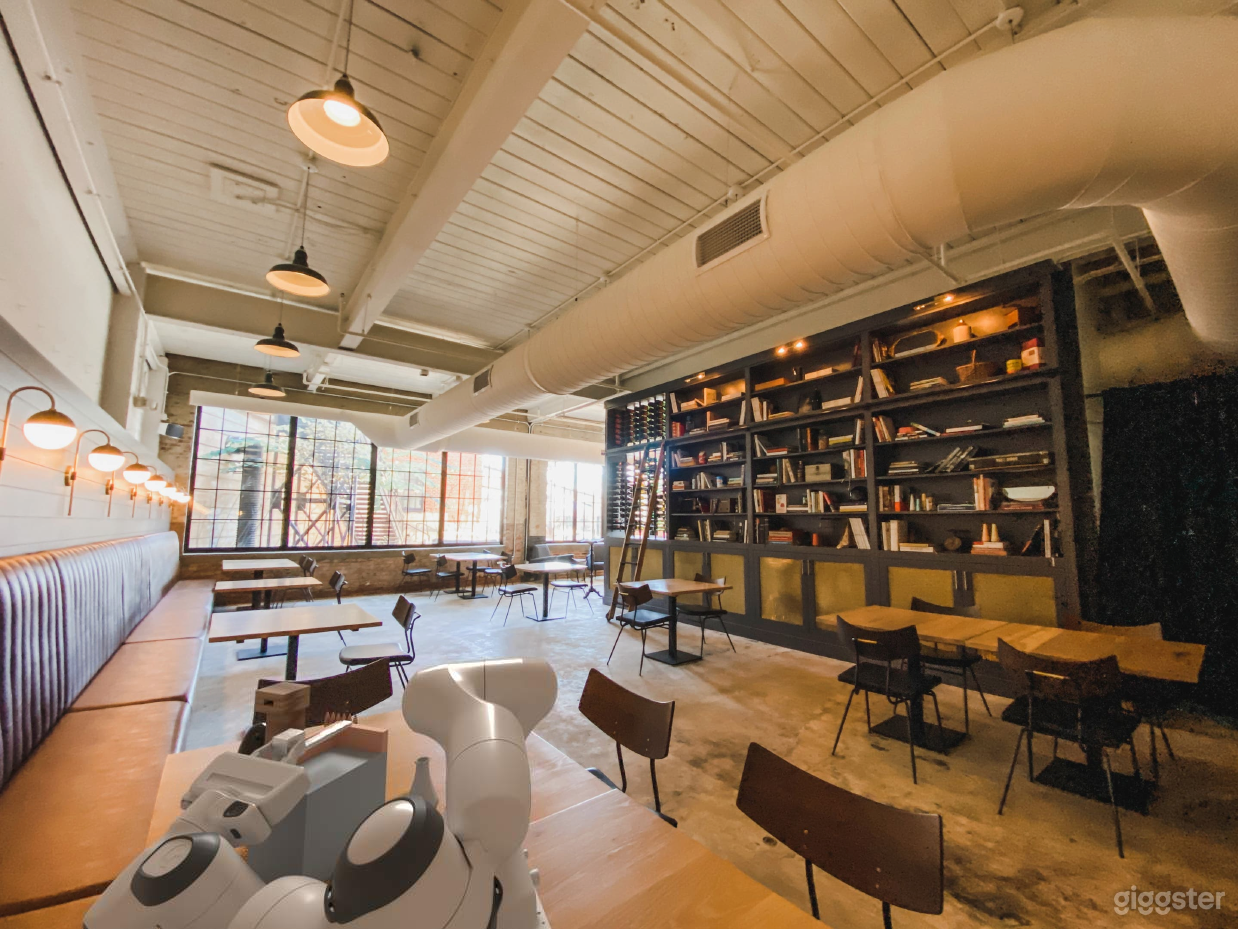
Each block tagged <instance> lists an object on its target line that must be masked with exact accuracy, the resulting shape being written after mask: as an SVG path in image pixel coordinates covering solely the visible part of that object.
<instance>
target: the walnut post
mask: <svg viewBox="0 0 1238 929" xmlns="http://www.w3.org/2000/svg"><path fill="white" fill-rule="evenodd" d="M310 699H311V685H308V684H300V683H294V682H287V681H281V682H279V683H275V684H272V685H269V686H266V687H262V688H259V689H257V690H255V694H254V706H253V712H256V713H261V714H262V713H263V714H266V719H265V722H266V731H265V745H266V744H268V743H269V742H270V741H271V740H272V739H273V737H274V736H276V735H278V734H281V733H283V732H285V731H287V730H289V729H291V728H292V729H298V730H303V731H305V725H306V724H305V723H306V708H308V707H309V706H310Z"/></svg>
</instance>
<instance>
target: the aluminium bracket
mask: <svg viewBox="0 0 1238 929" xmlns="http://www.w3.org/2000/svg"><path fill="white" fill-rule="evenodd" d="M352 723H353V721H352V722H351V721H347V720H346V721H345V720H344V721H342V722H340V723H339V724H337V725H335V726H333V727H331V728H329V729H327V730H325V731H323V732H321V733H319V734H317V735H316V736H314V737H312V738H310V739H308V740H306V741H305V736H306V730H304V731H303V730H298V729H292V728H291V729H289V730H287V731H285V732H283V733H281V734H278V735H276V736H274V737H273V754H272V760H273V761H278V762H280V761H281V760H282V759H283V758H284V757H286V758H287V756H288V754H289V752H290V750H289V748H288V747H289V746H290V745H291V744H293V742H294V741H295V740H299V741H303V742H304V744H305V749H304V750H303V751H302V752H301V753H300V754H299V756H298V757H300V756H301V755H303V754H305V751H306V750H308V749H310V748H312V747H314V746H316V745H317V744H319V743H321V742H323V741H325V740H327V739H328V738H330V737H332V736H334V735H336V734H338V733H340V732H341V731H343V730H345V729H347V728H349V727H351V726H352Z"/></svg>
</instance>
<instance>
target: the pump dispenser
mask: <svg viewBox="0 0 1238 929" xmlns="http://www.w3.org/2000/svg"><path fill="white" fill-rule="evenodd" d="M265 731H266V721H262V722H258V723H255V724H254V725H252V726H251V727H250V728H248V731H246V733H245V735H244V736H243V738H242V740H241V742H240V744H239V746H238V747H239V748H237V752H236V753H239V754H244V755H249V756H250V755H251V754H252V753H253V752H254V751H255V750H257V749H259V748H261V747H262V746H264V745H265Z"/></svg>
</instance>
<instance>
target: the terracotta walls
mask: <svg viewBox="0 0 1238 929" xmlns="http://www.w3.org/2000/svg"><path fill="white" fill-rule="evenodd" d="M340 722H341V721H338V722H336V721H335V723H333V724H331V725H329V726H326V727H324V726H323V727H322V728H320V729H318V730H315V731H313V732H310V733H308V734H305V741H306V740H308V739H310V738H312V737H314V736H316V735H317V734H319V733H321V732H323V731H325V730H327V729H329V728H331V727H333V726H335V725H337V724H339V723H340ZM388 742H389V729H388V728H382V727H381V728H380V727H375V726H369V725H364V724H353V722H352V726H351V727H349V728H347V729H345V730H343V731H341V732H340V733H338V734H336V735H334V736H332V737H330V738H328V739H327V740H325V741H323V742H321V743H319V744H317V745H316V746H314V747H312V748H310V749H308V750H306V751H305V754H303V755H301V756H300V757H298V759H297V762H296V764H298V763H300V762H302V761H304V760H306V759H308V758H310V757H312V756H315V755H317V754H319V753H321V752H323V751H325V750H327V749H329V748H331V747H333V746H335V745H342V746H347V747H352V748H357V749H363V750H368V751H373V752H378V753H383V752H385V751H386V750H387V751H388V746H389V744H388ZM272 754H273V753H272ZM272 754H270V755H269V756H267V757H266V758H264V759H267V760H272ZM272 761H273V760H272ZM277 762H278V761H277Z"/></svg>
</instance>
